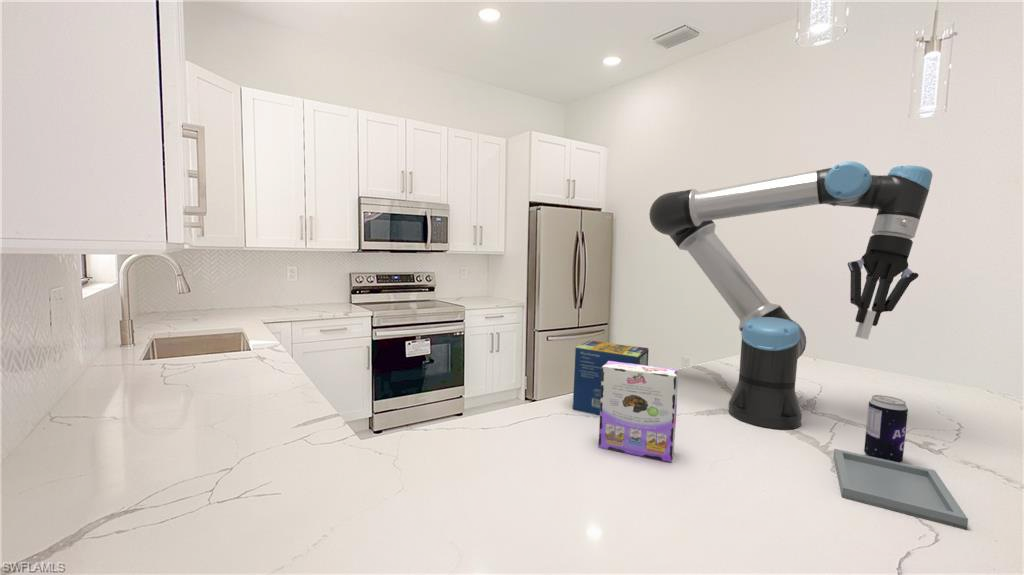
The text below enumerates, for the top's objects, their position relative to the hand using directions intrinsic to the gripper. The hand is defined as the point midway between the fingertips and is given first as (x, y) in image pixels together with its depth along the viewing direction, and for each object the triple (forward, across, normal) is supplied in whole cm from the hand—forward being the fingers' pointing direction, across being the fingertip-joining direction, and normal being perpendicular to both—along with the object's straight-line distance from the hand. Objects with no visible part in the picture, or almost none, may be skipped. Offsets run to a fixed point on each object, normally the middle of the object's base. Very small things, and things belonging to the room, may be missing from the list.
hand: (861, 337), depth 101 cm
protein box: (+31, -50, -12) cm, 60 cm away
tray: (+23, -2, -30) cm, 38 cm away
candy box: (+31, -42, -32) cm, 61 cm away
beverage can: (+22, +2, -18) cm, 29 cm away
